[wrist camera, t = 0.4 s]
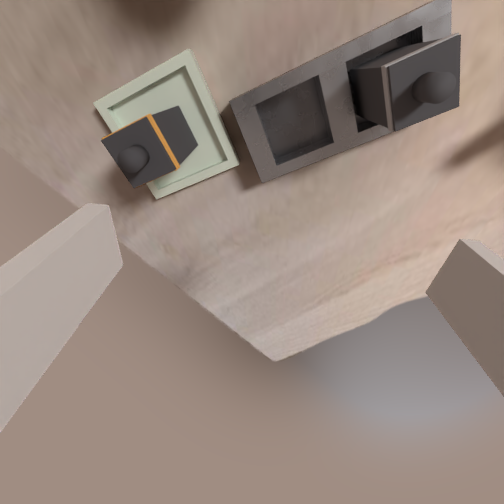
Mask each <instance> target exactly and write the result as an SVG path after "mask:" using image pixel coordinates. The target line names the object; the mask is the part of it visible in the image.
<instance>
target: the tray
mask: <svg viewBox="0 0 504 504" xmlns="http://www.w3.org/2000/svg"><path fill="white" fill-rule="evenodd" d="M93 104H94V105H95V107H96V108H97V110H98V111H99V113H100V114H101V116H102V117H103V119H104V121H105V122H106V124H107V125H108V127H109V128H110V130H111V131H112V133H113V132H115V131H117V130H119V129H121V128H123V127H125V126H126V125H128V124H130V123H132V122H134V121H136V120H138V119H140V118H142V117H144V116H146V115H148V114H151V115H153V114H156V113H158V112H161V111H164V110H167V109H170V108H173V107H175V106H178V105H179V107H180V109H181V111H182V113H183V115H184V117H185V119H186V121H187V123H188V125H189V127H190V129H191V131H192V133H193V135H194V137H195V139H196V141H197V143H198V146H197V147H196V148H195V149H194V150H193V151H192V153H191V154H190V155H189V156H188V157H187V158H186V159H185V160H184V161H183V162H182V163H181V164H180V168H179V169H178V170H176V171H173V172H171V173H169V174H166V175H164V176H162V177H160V178H157V179H155V180H153V181H151V182H148V183H146V184H147V186H148V188H149V189H150V191H151V192H152V194H153V195H154V197H155V198H156V199H159V198H161V197H164V196H166V195H168V194H171V193H173V192H176V191H178V190H180V189H183V188H185V187H187V186H190V185H192V184H195V183H197V182H199V181H202V180H204V179H206V178H209V177H211V176H214V175H216V174H218V173H221V172H223V171H226V170H228V169H230V168H233V167H235V166H237V165H239V163H240V160H239V158H238V156H237V153H236V151H235V149H234V146H233V144H232V142H231V139H230V137H229V135H228V132H227V130H226V128H225V126H224V123H223V121H222V119H221V116H220V114H219V112H218V109H217V107H216V105H215V102H214V100H213V98H212V95H211V93H210V91H209V88H208V86H207V84H206V81H205V79H204V77H203V74H202V72H201V70H200V67H199V65H198V63H197V60H196V58H195V56H194V54H193V51H192V50H191V49H187V50H185V51H183V52H181V53H180V54H178V55H176V56H174V57H173V58H171V59H169V60H167V61H166V62H164V63H162V64H160V65H159V66H157V67H155V68H153V69H152V70H150V71H148V72H146V73H145V74H143V75H141V76H139V77H138V78H136V79H134V80H132V81H131V82H129V83H127V84H125V85H124V86H122V87H120V88H118V89H117V90H115V91H113V92H111V93H109V94H108V95H106V96H104V97H102V98H101V99H99V100H97V101H95V102H94V103H93Z"/></svg>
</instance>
